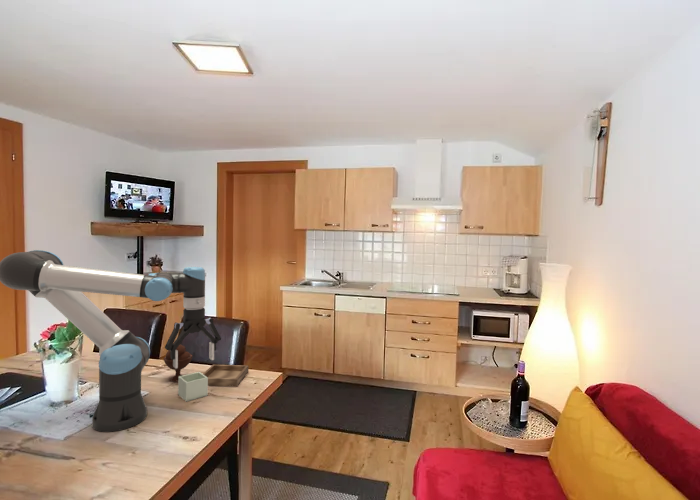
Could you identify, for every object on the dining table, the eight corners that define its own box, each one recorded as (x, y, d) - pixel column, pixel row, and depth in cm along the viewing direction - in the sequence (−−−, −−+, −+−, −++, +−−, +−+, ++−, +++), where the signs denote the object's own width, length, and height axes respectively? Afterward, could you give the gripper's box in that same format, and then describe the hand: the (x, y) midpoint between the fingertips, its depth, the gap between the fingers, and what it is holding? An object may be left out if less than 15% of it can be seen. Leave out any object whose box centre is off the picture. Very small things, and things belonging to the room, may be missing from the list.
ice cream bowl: (197, 377, 157) (197, 343, 156) (172, 386, 147) (173, 349, 147) (182, 372, 162) (183, 338, 162) (158, 380, 153) (158, 344, 152)
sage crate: (186, 401, 134) (186, 383, 134) (178, 394, 140) (178, 376, 139) (207, 395, 140) (207, 377, 139) (199, 389, 145) (199, 371, 145)
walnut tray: (197, 385, 149) (197, 378, 149) (212, 371, 165) (213, 364, 165) (236, 386, 149) (237, 379, 148) (248, 372, 164) (248, 365, 164)
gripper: (162, 313, 127) (162, 374, 128) (229, 305, 145) (229, 358, 145) (155, 310, 132) (155, 368, 133) (221, 302, 150) (221, 353, 151)
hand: (194, 363), depth 139 cm, fingers open, 13 cm apart
